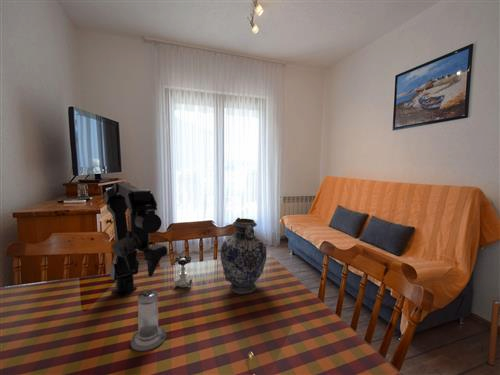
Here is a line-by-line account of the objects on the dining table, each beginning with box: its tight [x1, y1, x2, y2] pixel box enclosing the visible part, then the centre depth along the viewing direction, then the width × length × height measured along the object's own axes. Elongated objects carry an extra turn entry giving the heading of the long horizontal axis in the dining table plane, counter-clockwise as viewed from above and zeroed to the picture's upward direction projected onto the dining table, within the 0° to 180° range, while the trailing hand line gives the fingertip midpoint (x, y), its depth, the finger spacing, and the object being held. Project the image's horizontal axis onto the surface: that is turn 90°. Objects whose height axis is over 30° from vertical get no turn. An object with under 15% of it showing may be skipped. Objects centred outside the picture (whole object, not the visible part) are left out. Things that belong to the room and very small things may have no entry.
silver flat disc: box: [130, 326, 167, 353], centre depth 65 cm, size 9×9×1 cm
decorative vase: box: [220, 217, 267, 295], centre depth 93 cm, size 21×19×28 cm
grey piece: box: [137, 290, 159, 342], centre depth 64 cm, size 5×5×12 cm
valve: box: [173, 255, 193, 289], centre depth 94 cm, size 7×7×12 cm
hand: (140, 273), depth 77 cm, fingers open, 9 cm apart
